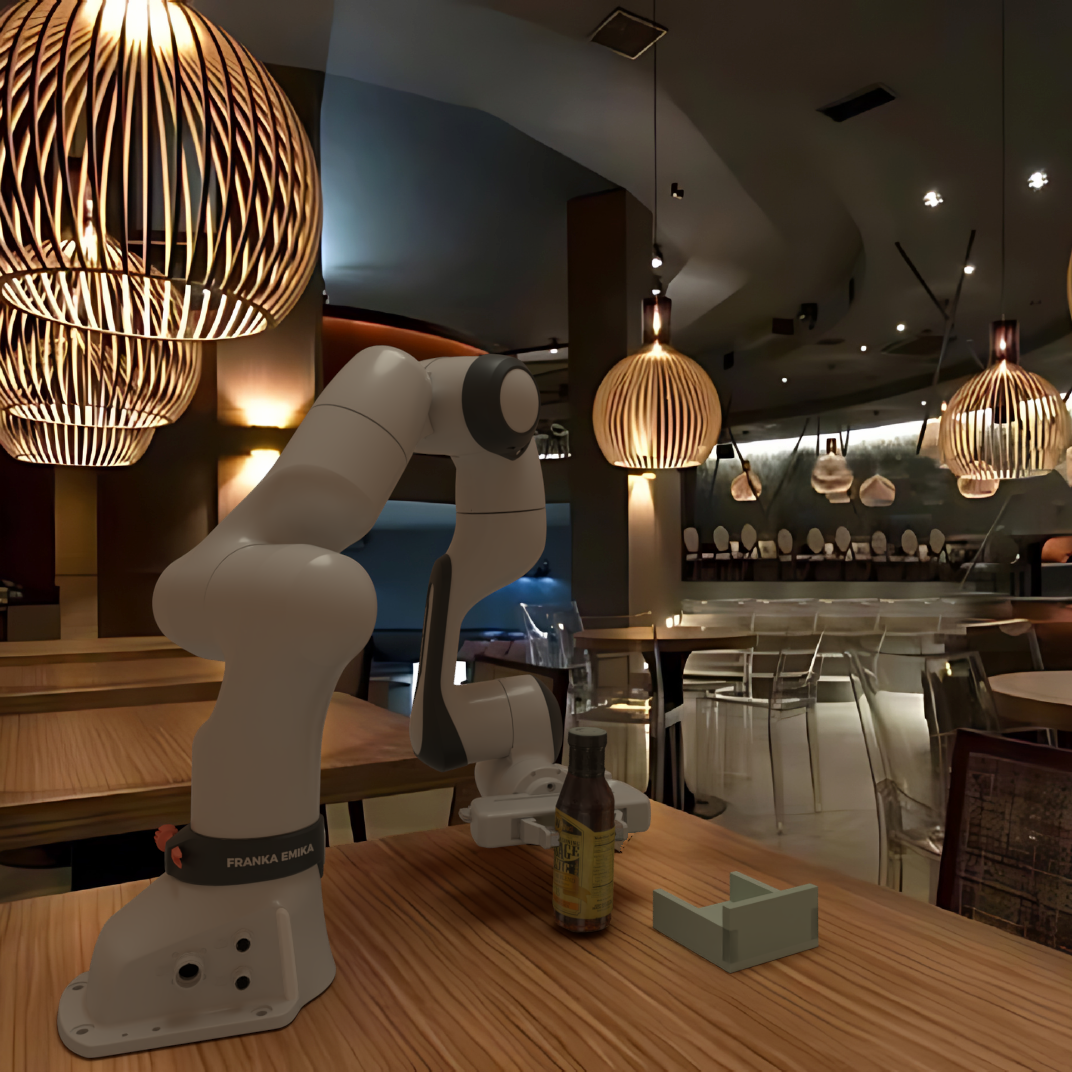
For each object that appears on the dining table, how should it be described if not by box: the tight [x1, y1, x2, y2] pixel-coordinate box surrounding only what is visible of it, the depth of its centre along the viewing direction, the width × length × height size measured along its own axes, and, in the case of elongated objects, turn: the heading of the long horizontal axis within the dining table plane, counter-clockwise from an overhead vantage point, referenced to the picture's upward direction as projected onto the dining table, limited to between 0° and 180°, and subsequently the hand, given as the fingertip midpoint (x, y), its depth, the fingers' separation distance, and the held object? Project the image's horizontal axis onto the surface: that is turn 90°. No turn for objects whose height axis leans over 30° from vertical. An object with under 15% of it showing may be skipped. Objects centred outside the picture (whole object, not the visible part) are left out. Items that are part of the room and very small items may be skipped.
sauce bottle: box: [552, 726, 615, 933], centre depth 90 cm, size 6×6×20 cm
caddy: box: [652, 870, 819, 974], centre depth 88 cm, size 12×12×6 cm
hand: (587, 837), depth 89 cm, fingers closed on sauce bottle, 6 cm apart
